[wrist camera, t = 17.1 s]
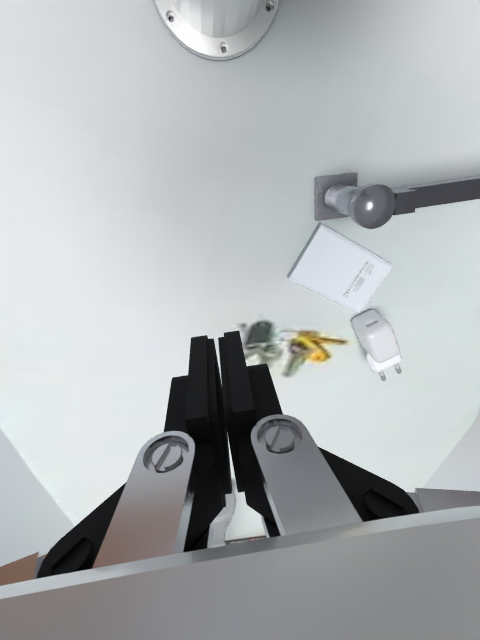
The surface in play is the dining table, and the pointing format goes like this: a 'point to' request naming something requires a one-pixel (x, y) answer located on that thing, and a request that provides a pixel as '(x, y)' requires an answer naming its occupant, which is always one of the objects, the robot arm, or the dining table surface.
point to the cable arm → (408, 199)
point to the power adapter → (377, 341)
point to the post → (334, 195)
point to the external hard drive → (339, 269)
